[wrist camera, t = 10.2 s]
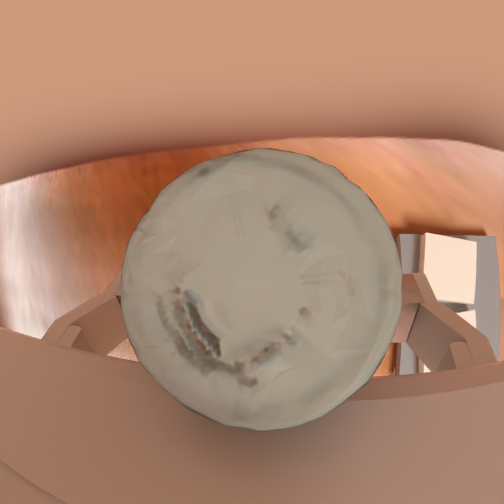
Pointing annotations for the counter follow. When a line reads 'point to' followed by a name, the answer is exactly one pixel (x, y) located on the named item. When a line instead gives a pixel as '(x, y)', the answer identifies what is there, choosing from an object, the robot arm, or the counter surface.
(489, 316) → the slate board
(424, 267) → the tile
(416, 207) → the counter surface
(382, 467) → the robot arm
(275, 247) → the sauce bottle
